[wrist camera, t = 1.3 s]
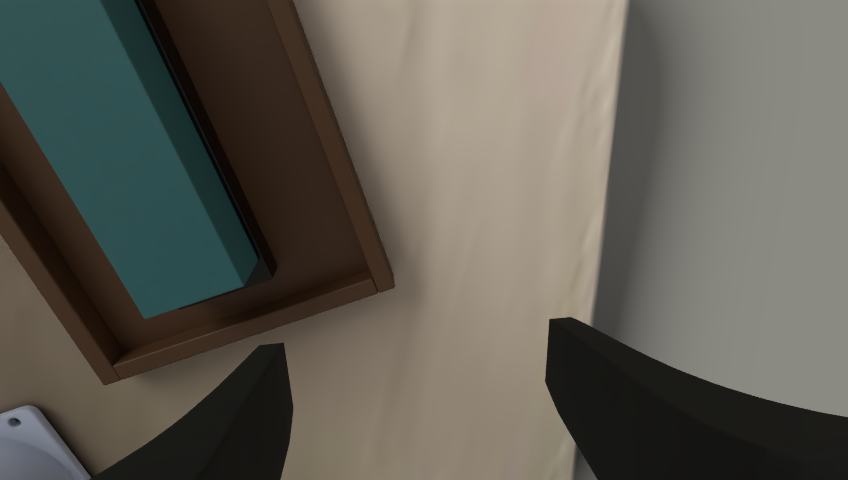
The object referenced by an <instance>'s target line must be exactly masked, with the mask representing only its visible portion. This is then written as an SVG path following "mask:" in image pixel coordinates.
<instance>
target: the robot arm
mask: <svg viewBox="0 0 848 480" xmlns="http://www.w3.org/2000/svg"><path fill="white" fill-rule="evenodd" d="M545 382H546V385H547V387H548V390H549V392H550V395H551V397H552V400H553V402H554V404H555V406H556V409H557V411H558V413H559V415H560V417H561V419H562V420H563V422H564V424H565V425H566V427H567V429H568V431H569V432H570V434H571V436H572V437H573V439H574V441H575V442H576V444H577V446H578V447H579V449H580V451H581V452H582V454H583V456H584V458H585V459H586V461H587V462H588V464H589V466H590V468H591V469H592V471H593V472H594V474H595V476H596V477H597V479H598V480H848V417H843V416H837V415H832V414H827V413H821V412H816V411H811V410H807V409H803V408H798V407H794V406H790V405H786V404H781V403H777V402H774V401H770V400H766V399H762V398H759V397H755V396H752V395H748V394H745V393H742V392H739V391H736V390H732V389H729V388H726V387H723V386H720V385H717V384H714V383H711V382H709V381H706V380H703V379H701V378H698V377H695V376H693V375H690V374H687V373H685V372H682V371H680V370H677V369H675V368H673V367H671V366H668V365H666V364H664V363H662V362H660V361H658V360H655V359H653V358H651V357H649V356H647V355H645V354H643V353H641V352H638V351H636V350H635V349H632V348H631V347H629V346H627V345H625V344H623V343H621V342H619V341H617V340H615V339H613V338H611V337H610V336H608V335H606V334H604V333H602V332H600V331H598V330H596V329H594V328H593V327H591V326H589V325H587V324H585V323H583V322H581V321H579V320H576V319H574V318H571V317H567V318H556V319H549V334H548V349H547V363H546V378H545ZM292 416H293V402H292V395H291V388H290V381H289V375H288V368H287V361H286V354H285V348H284V343H277V344H266V345H259V346H258V347H257V348H256V349H255V350H254V351H253V352H252V353H251V354H250V355H249V356H248V357H247V358H246V359H245V360H244V361H243V362H242V363H241V364H240V365H239V366H238V367H237V368H236V369H235V370H234V371H233V372H232V373H231V374H230V375H229V376H228V377H227V378H226V379H225V380H224V381H223V382H222V383H221V384H220V385H219V386H218V387H217V388H215V389H214V390H213V391H212V392H211V393H210V394H209V395H208V396H206V397H205V398H204V399H203V400H202V401H201V402H200V403H198V404H197V405H196V406H195V407H194V408H193V409H192V410H190V411H189V412H188V413H187V414H186V415H184V416H183V417H182V418H181V419H180V420H178V421H177V422H176V423H174V424H173V425H172V426H171V427H169V428H168V429H166V430H165V431H164V432H162V433H161V434H160V435H158V436H157V437H155V438H154V439H153V440H151V441H150V442H148V443H147V444H145V445H144V446H143V447H141V448H139V449H138V450H136V451H135V452H133V453H131V454H130V455H128V456H127V457H125V458H124V459H122V460H120V461H119V462H117V463H116V464H114V465H112V466H111V467H109V468H108V469H106V470H104V471H103V472H101V473H99V474H98V475H96V476H94V477H92V478H91V477H90V475H89V474H88V473H87V471H86V470H85V469H84V468H83V466H82V465H81V464H80V462H79V461H78V460H77V458H76V457H75V456H74V454H73V453H72V452H71V451H70V449H69V448H68V447H67V445H66V444H65V443H64V441H63V440H62V439H61V437H60V436H59V435H58V434H57V432H56V431H55V430H54V428H53V427H52V426H51V424H50V423H49V422H48V420H47V419H46V418H45V417H44V415H43V414H42V413H41V411H40V410H39V409H38V408H36V407H34V406H30V405H26V406H22V407H19V408H16V409H13V410H10V411H7V412H4V413H1V414H0V480H280V479H281V475H282V471H283V467H284V463H285V459H286V455H287V451H288V446H289V441H290V433H291V425H292ZM15 418H16V419H18V420H20V421H17V420H16V419H15Z"/></svg>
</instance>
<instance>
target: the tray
mask: <svg viewBox="0 0 848 480" xmlns="http://www.w3.org/2000/svg"><path fill="white" fill-rule="evenodd" d="M154 1H155V3H156V5H157V7H158V9H159V11H160V13H161V16H162V18H163V20H164V22H165V24H166V26H167V29H168V31H169V33H170V35H171V37H172V39H173V41H174V44H175V46H176V48H177V50H178V52H179V54H180V57H181V59H182V61H183V63H184V65H185V67H186V69H187V72H188V74H189V76H190V78H191V80H192V82H193V84H194V87H195V89H196V91H197V93H198V95H199V97H200V100H201V102H202V104H203V106H204V108H205V110H206V112H207V115H208V117H209V119H210V121H211V123H212V125H213V128H214V130H215V132H216V134H217V136H218V138H219V140H220V143H221V145H222V147H223V149H224V151H225V153H226V155H227V158H228V160H229V162H230V164H231V166H232V168H233V171H234V173H235V175H236V177H237V179H238V181H239V183H240V186H241V188H242V190H243V192H244V194H245V196H246V199H247V201H248V203H249V205H250V207H251V209H252V211H253V214H254V216H255V218H256V220H257V222H258V224H259V226H260V229H261V231H262V233H263V235H264V237H265V239H266V242H267V244H268V246H269V248H270V250H271V252H272V254H273V257H274V259H275V261H276V263H277V265H278V268H277V270H276V272H275V274H274V277H273V278H272V279H271V280H268V281H265V282H262V283H259V284H256V285H253V286H250V287H247V288H244V289H241V290H238V291H235V292H232V293H229V294H226V295H223V296H220V297H217V298H214V299H211V300H208V301H205V302H202V303H199V304H196V305H193V306H190V307H187V308H184V309H181V310H179V309H175V310H172V311H169V312H166V313H163V314H160V315H157V316H154V317H151V318H148V319H144V317H143V316H142V314H141V312H140V311H139V309H138V307H137V306H136V304H135V302H134V301H133V299H132V297H131V296H130V294H129V292H128V291H127V289H126V288H125V286H124V284H123V283H122V281H121V279H120V278H119V276H118V274H117V273H116V271H115V269H114V268H113V266H112V264H111V263H110V261H109V260H108V258H107V256H106V255H105V253H104V251H103V250H102V248H101V246H100V245H99V243H98V241H97V240H96V238H95V236H94V235H93V233H92V232H91V230H90V228H89V227H88V225H87V223H86V222H85V220H84V218H83V217H82V215H81V213H80V212H79V210H78V208H77V207H76V205H75V204H74V202H73V200H72V199H71V197H70V195H69V194H68V192H67V190H66V189H65V187H64V185H63V184H62V182H61V180H60V179H59V177H58V176H57V174H56V172H55V171H54V169H53V167H52V166H51V164H50V162H49V161H48V159H47V157H46V156H45V154H44V152H43V151H42V149H41V148H40V146H39V144H38V143H37V141H36V139H35V138H34V136H33V134H32V133H31V131H30V129H29V128H28V126H27V124H26V123H25V121H24V120H23V118H22V116H21V115H20V113H19V111H18V110H17V108H16V106H15V105H14V103H13V101H12V100H11V98H10V96H9V95H8V93H7V92H6V90H5V88H4V87H3V85H2V83H1V82H0V234H1V236H2V237H3V239H4V240H5V242H6V243H7V244H8V246H9V247H10V249H11V250H12V252H13V253H14V255H15V256H16V258H17V259H18V261H19V262H20V263H21V265H22V266H23V268H24V269H25V271H26V272H27V274H28V275H29V277H30V278H31V280H32V281H33V282H34V284H35V285H36V287H37V288H38V290H39V291H40V293H41V294H42V296H43V297H44V299H45V300H46V301H47V303H48V304H49V306H50V307H51V309H52V310H53V312H54V313H55V315H56V316H57V318H58V319H59V320H60V322H61V323H62V325H63V326H64V328H65V329H66V331H67V332H68V334H69V335H70V337H71V338H72V339H73V341H74V342H75V344H76V345H77V347H78V348H79V350H80V351H81V353H82V354H83V355H84V357H85V358H86V360H87V361H88V363H89V364H90V366H91V367H92V369H93V370H94V372H95V373H96V374H97V376H98V377H99V379H100V380H101V382H102V383H103V385H108V384H111V383H114V382H117V381H120V380H121V379H126V378H128V377H131V376H134V375H137V374H140V373H143V372H146V371H149V370H152V369H155V368H158V367H161V366H164V365H167V364H170V363H173V362H176V361H179V360H182V359H185V358H188V357H191V356H194V355H197V354H200V353H203V352H205V351H208V350H211V349H214V348H217V347H220V346H223V345H226V344H229V343H232V342H235V341H238V340H241V339H244V338H247V337H250V336H253V335H256V334H259V333H262V332H265V331H268V330H271V329H274V328H277V327H279V326H282V325H285V324H288V323H291V322H294V321H297V320H300V319H303V318H306V317H309V316H312V315H315V314H318V313H321V312H324V311H327V310H330V309H333V308H336V307H339V306H342V305H345V304H348V303H351V302H354V301H356V300H359V299H362V298H365V297H368V296H371V295H374V294H377V293H378V292H383V291H386V290H389V289H392V288H394V287H395V283H394V275H393V272H392V269H391V267H390V264H389V261H388V258H387V256H386V253H385V250H384V248H383V245H382V242H381V239H380V237H379V234H378V231H377V229H376V226H375V223H374V220H373V218H372V215H371V212H370V210H369V207H368V204H367V201H366V199H365V196H364V193H363V191H362V188H361V185H360V182H359V180H358V177H357V174H356V171H355V169H354V166H353V163H352V161H351V158H350V155H349V152H348V150H347V147H346V144H345V142H344V139H343V136H342V133H341V131H340V128H339V125H338V123H337V120H336V117H335V114H334V112H333V109H332V106H331V104H330V101H329V98H328V95H327V93H326V90H325V87H324V85H323V82H322V79H321V76H320V74H319V71H318V68H317V66H316V63H315V60H314V57H313V55H312V52H311V49H310V47H309V44H308V41H307V38H306V36H305V33H304V30H303V27H302V25H301V22H300V19H299V17H298V14H297V11H296V8H295V6H294V3H293V0H154Z"/></svg>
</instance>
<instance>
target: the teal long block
mask: <svg viewBox="0 0 848 480" xmlns="http://www.w3.org/2000/svg"><path fill="white" fill-rule="evenodd" d="M0 82H1V83H2V85H3V87H4V88H5V90H6V92H7V93H8V95H9V96H10V98H11V100H12V101H13V103H14V105H15V106H16V108H17V110H18V111H19V113H20V115H21V116H22V118H23V120H24V121H25V123H26V124H27V126H28V128H29V129H30V131H31V133H32V134H33V136H34V138H35V139H36V141H37V143H38V144H39V146H40V148H41V149H42V151H43V152H44V154H45V156H46V157H47V159H48V161H49V162H50V164H51V166H52V167H53V169H54V171H55V172H56V174H57V176H58V177H59V179H60V180H61V182H62V184H63V185H64V187H65V189H66V190H67V192H68V194H69V195H70V197H71V199H72V200H73V202H74V204H75V205H76V207H77V208H78V210H79V212H80V213H81V215H82V217H83V218H84V220H85V222H86V223H87V225H88V227H89V228H90V230H91V232H92V233H93V235H94V236H95V238H96V240H97V241H98V243H99V245H100V246H101V248H102V250H103V251H104V253H105V255H106V256H107V258H108V260H109V261H110V263H111V264H112V266H113V268H114V269H115V271H116V273H117V274H118V276H119V278H120V279H121V281H122V283H123V284H124V286H125V288H126V289H127V291H128V292H129V294H130V296H131V297H132V299H133V301H134V302H135V304H136V306H137V307H138V309H139V311H140V312H141V314H142V316H143V317H144V319H148V318H151V317H154V316H157V315H160V314H163V313H166V312H169V311H172V310H175V309H179V310H181V309H184V308H187V307H190V306H193V305H196V304H199V303H202V302H205V301H208V300H211V299H214V298H217V297H220V296H223V295H226V294H229V293H232V292H235V291H238V290H241V289H244V288H247V287H250V286H253V285H256V284H259V283H262V282H265V281H268V280H271V279H272V278H273V277H274V274H275V272H276V270H277V268H278V265H277V263H276V261H275V259H274V257H273V254H272V252H271V250H270V248H269V246H268V244H267V242H266V239H265V237H264V235H263V233H262V231H261V229H260V226H259V224H258V222H257V220H256V218H255V216H254V214H253V211H252V209H251V207H250V205H249V203H248V201H247V199H246V196H245V194H244V192H243V190H242V188H241V186H240V183H239V181H238V179H237V177H236V175H235V173H234V171H233V168H232V166H231V164H230V162H229V160H228V158H227V155H226V153H225V151H224V149H223V147H222V145H221V143H220V140H219V138H218V136H217V134H216V132H215V130H214V128H213V125H212V123H211V121H210V119H209V117H208V115H207V112H206V110H205V108H204V106H203V104H202V102H201V100H200V97H199V95H198V93H197V91H196V89H195V87H194V84H193V82H192V80H191V78H190V76H189V74H188V72H187V69H186V67H185V65H184V63H183V61H182V59H181V57H180V54H179V52H178V50H177V48H176V46H175V44H174V41H173V39H172V37H171V35H170V33H169V31H168V29H167V26H166V24H165V22H164V20H163V18H162V16H161V13H160V11H159V9H158V7H157V5H156V3H155V1H154V0H0Z"/></svg>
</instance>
